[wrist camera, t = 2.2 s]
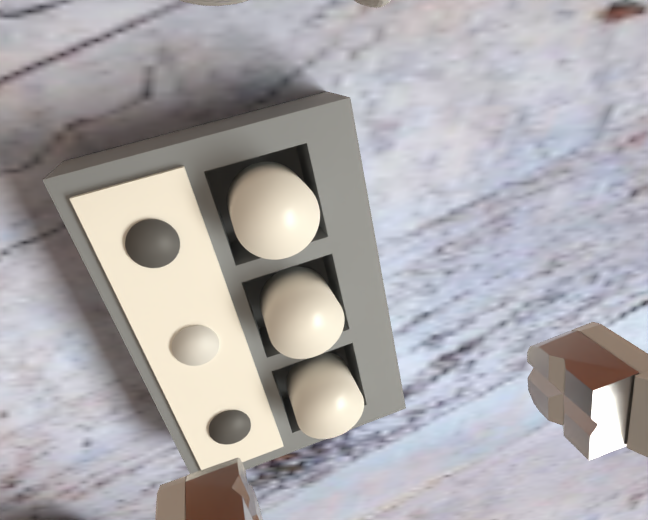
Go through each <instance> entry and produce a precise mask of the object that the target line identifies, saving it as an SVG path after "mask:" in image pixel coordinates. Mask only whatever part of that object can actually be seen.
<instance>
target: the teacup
mask: <svg viewBox="0 0 648 520" xmlns="http://www.w3.org/2000/svg"><path fill="white" fill-rule="evenodd" d="M180 1H183V2H187V3H192V4H198V5H205V6H222V5H231V4H237V3H241V2H245V1H248V0H180ZM354 1H356V2H357V3H359V4H362V5H365V6H369V7H374V8H377V7H383V6H385V5H386V4H388V3H389V2H390V1H391V0H354Z"/></svg>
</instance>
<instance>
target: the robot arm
mask: <svg viewBox="0 0 648 520" xmlns="http://www.w3.org/2000/svg"><path fill="white" fill-rule="evenodd" d="M527 362H528V363H529V364H530V365H532V366H533V367H534V368H533V370H532V371H531V373H530V375H529V377H528V390H529V393H530V395H531V398H532V400H533V403H534V404H535V405H536V407H537V408H538V410H539V411H540V412H541V413H542V414H543V415H544V416H545V417H546V418H547V419H548V420H549V421H552V422H555V423H557V424H560V425H563V432H564V436H565V437H566V438H567V439H568V440H569V441H570V442H571V443H572V444H573V445H574V446H575V447H576V448H577V449H578V450H579V451H580V452H581V453H582V454H583V455H584V456H585V457H586V458H587V459H588V460H591V459H594V458H596V457H599V456H601V455H604V454H606V453H609V452H611V451H614V450H616V449H619V448H622V447H624V446H627V448H628V449H630V450H633V451H635V452H637V453H639V454H642V455H644V456H646V457H648V354H647V353H646V352H644V351H643V350H641V349H639V348H638V347H636V346H635V345H633V344H632V343H630V342H628V341H627V340H625V339H624V338H622V337H621V336H619V335H617V334H616V333H614V332H613V331H611V330H609V329H608V328H606V327H605V326H603V325H602V324H599V323H595V322H591V323H589V324H586V325H584V326H581V327H578V328H576V329H573V330H572V331H568V332H566V333H563V334H561V335H558V336H555V337H553V338H550V339H548V340H545V341H543V342H540V343H537V344H535V345H532V346H530V348H529V350H528V352H527ZM155 520H263V519H262V515H261V511H260V507H259V503H258V500H257V497H256V494H255V492H254V489H253V487H252V485H250V484H248V483H247V477H246V471H245V468H244V466H243V464H242V461H241V459H240V458H238V457H237V458H235V459H232V460H229V461H226V462H223V463H220V464H217V465H215V466H212V467H209V468H206V469H203V470H200V471H197V472H195V473H192V474H189V475H187V476H185V477H182V478H179V479H176V480H173V481H171V482H168V483H165V484H162V485H160V487H159V490H158V492H157V501H156V517H155Z"/></svg>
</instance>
